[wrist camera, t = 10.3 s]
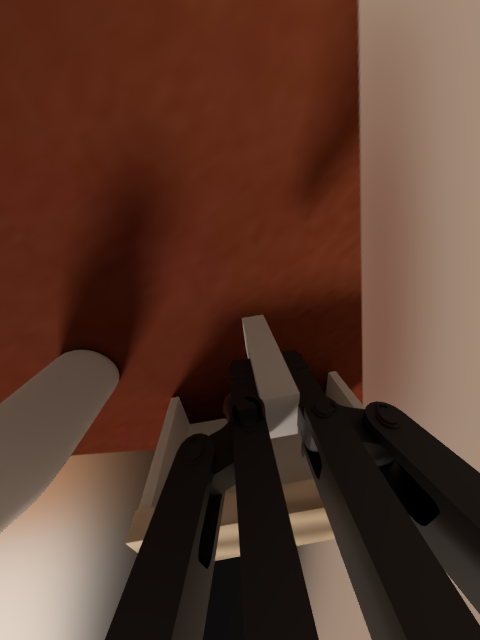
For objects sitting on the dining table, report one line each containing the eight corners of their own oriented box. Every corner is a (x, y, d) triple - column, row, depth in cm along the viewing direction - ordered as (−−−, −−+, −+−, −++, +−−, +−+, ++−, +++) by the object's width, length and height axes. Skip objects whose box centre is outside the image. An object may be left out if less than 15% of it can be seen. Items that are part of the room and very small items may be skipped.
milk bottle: (53, 343, 23) (-536, 750, 5) (120, 352, 24) (-153, 693, 7) (63, 387, 26) (-276, 732, 8) (122, 393, 28) (-59, 696, 10)
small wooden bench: (170, 395, 29) (125, 543, 15) (336, 368, 29) (432, 488, 16) (185, 430, 33) (160, 570, 19) (330, 406, 33) (403, 526, 20)
